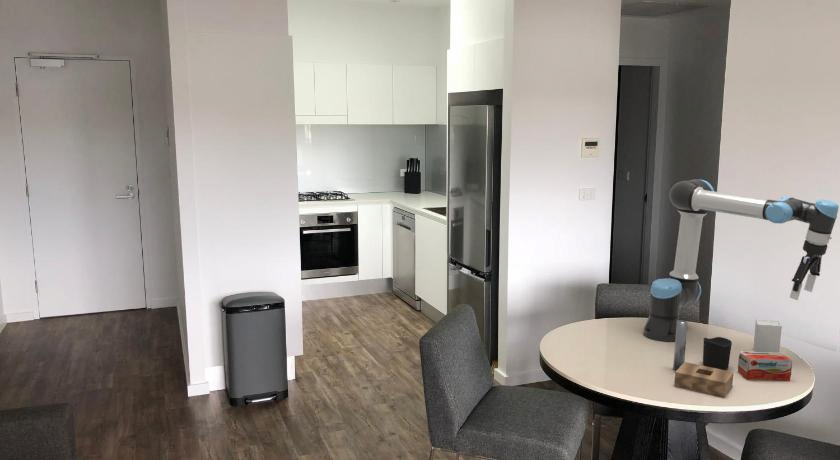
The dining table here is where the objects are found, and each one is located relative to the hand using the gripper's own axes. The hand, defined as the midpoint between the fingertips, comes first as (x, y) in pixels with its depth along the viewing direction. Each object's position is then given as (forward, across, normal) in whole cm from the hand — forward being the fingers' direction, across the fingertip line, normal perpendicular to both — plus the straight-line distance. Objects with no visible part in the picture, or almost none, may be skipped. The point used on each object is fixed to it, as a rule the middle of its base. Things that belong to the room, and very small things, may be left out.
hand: (800, 294), depth 258 cm
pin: (+25, -49, +18) cm, 58 cm away
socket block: (+22, -56, +5) cm, 61 cm away
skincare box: (+24, -16, +1) cm, 29 cm away
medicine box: (+23, -31, -5) cm, 39 cm away
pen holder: (+25, -35, +11) cm, 44 cm away
